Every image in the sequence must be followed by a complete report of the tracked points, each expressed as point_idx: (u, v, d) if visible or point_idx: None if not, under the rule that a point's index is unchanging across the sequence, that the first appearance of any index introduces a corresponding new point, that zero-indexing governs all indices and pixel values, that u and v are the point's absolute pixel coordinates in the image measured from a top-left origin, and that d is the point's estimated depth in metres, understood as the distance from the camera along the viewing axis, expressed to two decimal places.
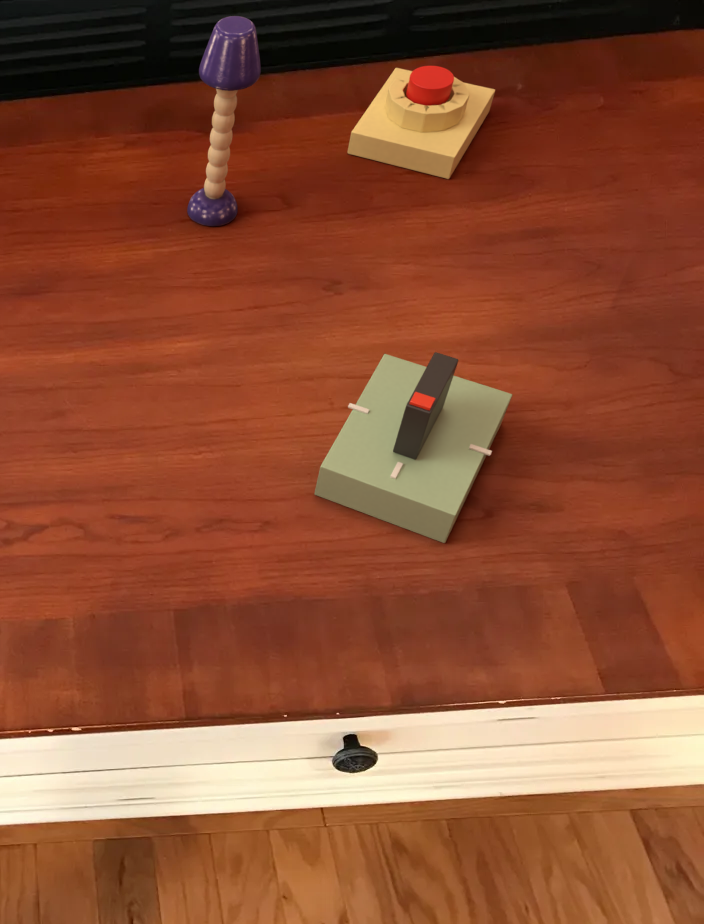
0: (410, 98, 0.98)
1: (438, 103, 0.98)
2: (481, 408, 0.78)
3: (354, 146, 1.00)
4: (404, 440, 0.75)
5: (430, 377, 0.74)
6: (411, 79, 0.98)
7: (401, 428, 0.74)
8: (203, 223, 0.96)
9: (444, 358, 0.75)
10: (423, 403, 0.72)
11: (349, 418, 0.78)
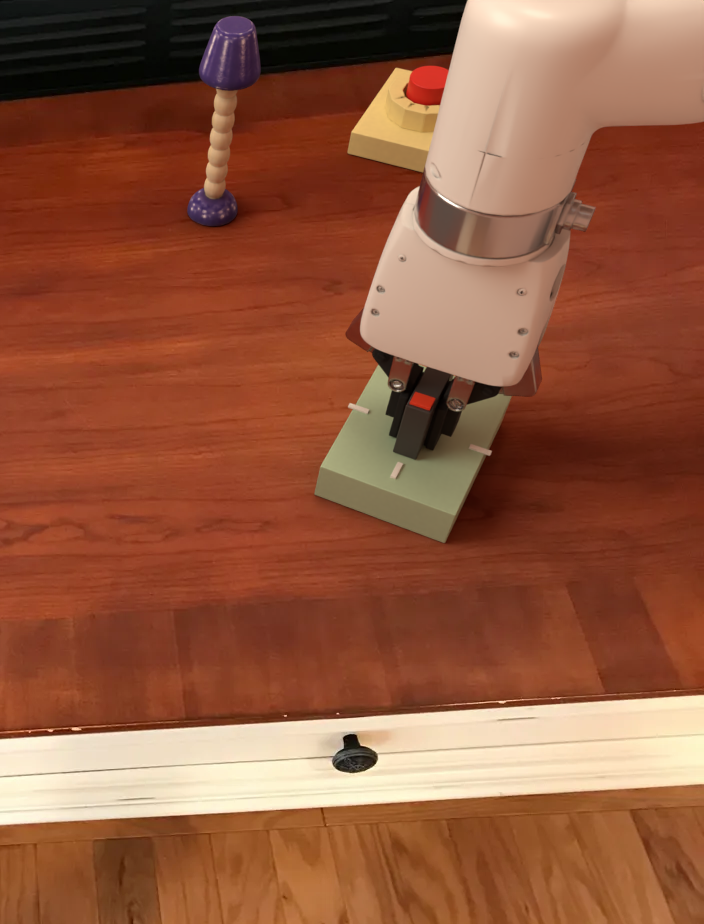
0: (410, 98, 0.98)
1: (438, 103, 0.98)
2: (481, 408, 0.78)
3: (354, 146, 1.00)
4: (404, 440, 0.75)
5: (430, 377, 0.74)
6: (411, 79, 0.98)
7: (401, 428, 0.74)
8: (203, 223, 0.96)
9: None
10: (423, 403, 0.72)
11: (349, 418, 0.78)
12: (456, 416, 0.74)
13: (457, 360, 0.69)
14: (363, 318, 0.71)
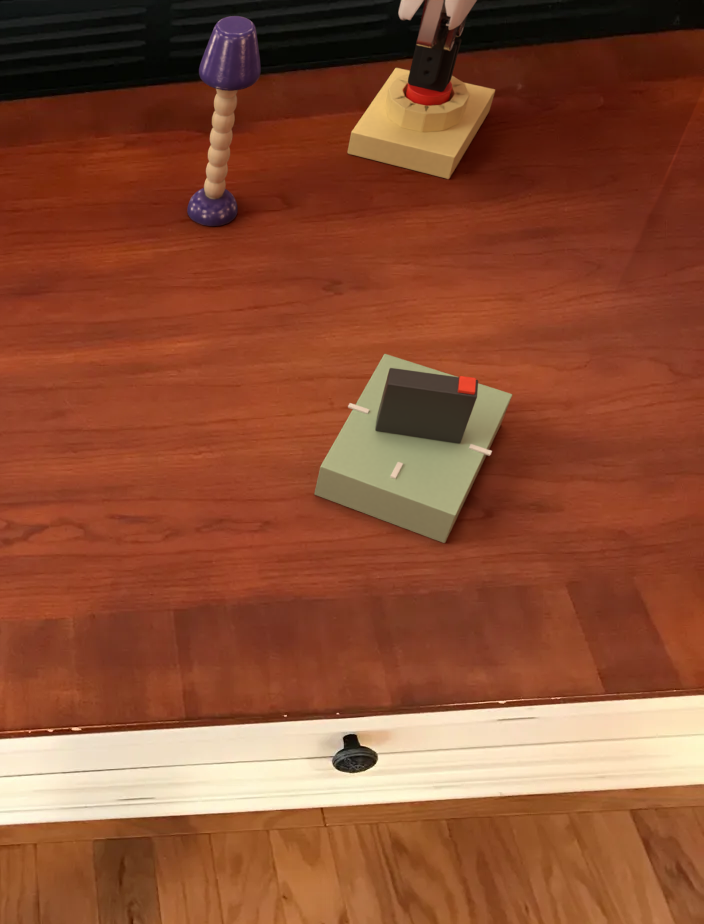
0: None
1: None
2: (481, 408, 0.78)
3: (354, 146, 1.00)
4: None
5: (428, 384, 0.74)
6: (409, 86, 0.98)
7: None
8: (203, 223, 0.96)
9: (394, 376, 0.74)
10: (472, 383, 0.73)
11: (349, 418, 0.78)
12: None
13: None
14: (459, 8, 0.88)
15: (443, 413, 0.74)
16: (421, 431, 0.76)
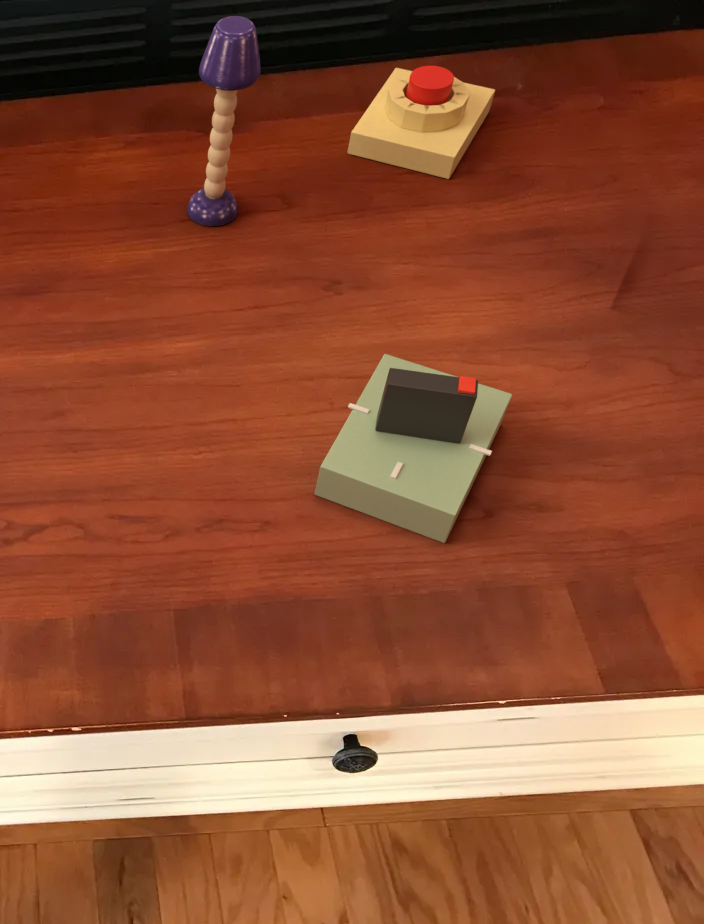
0: (410, 98, 0.98)
1: (438, 103, 0.98)
2: (481, 408, 0.78)
3: (354, 146, 1.00)
4: None
5: (428, 384, 0.74)
6: (411, 79, 0.98)
7: None
8: (203, 223, 0.96)
9: (394, 376, 0.74)
10: (472, 383, 0.73)
11: (349, 418, 0.78)
12: None
13: None
14: None
15: (443, 413, 0.74)
16: (421, 431, 0.76)
